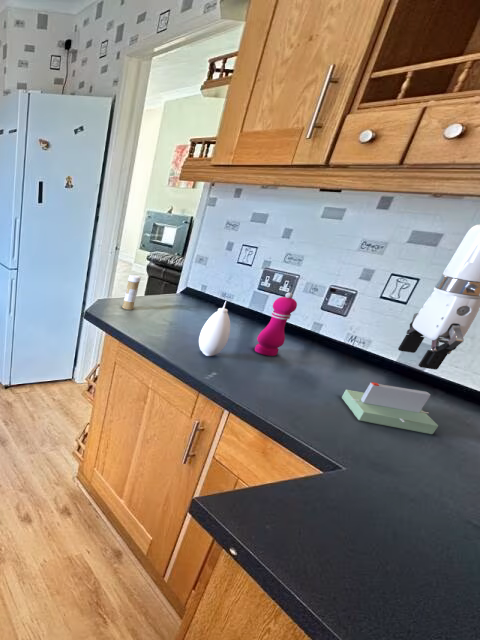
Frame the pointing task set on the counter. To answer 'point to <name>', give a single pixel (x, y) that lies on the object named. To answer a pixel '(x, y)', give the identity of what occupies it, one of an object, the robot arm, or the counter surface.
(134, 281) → the sprinkles bottle
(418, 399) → the white rectangular block
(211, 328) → the white air blower bulb
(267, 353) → the pepper mill
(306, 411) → the counter surface
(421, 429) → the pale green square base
